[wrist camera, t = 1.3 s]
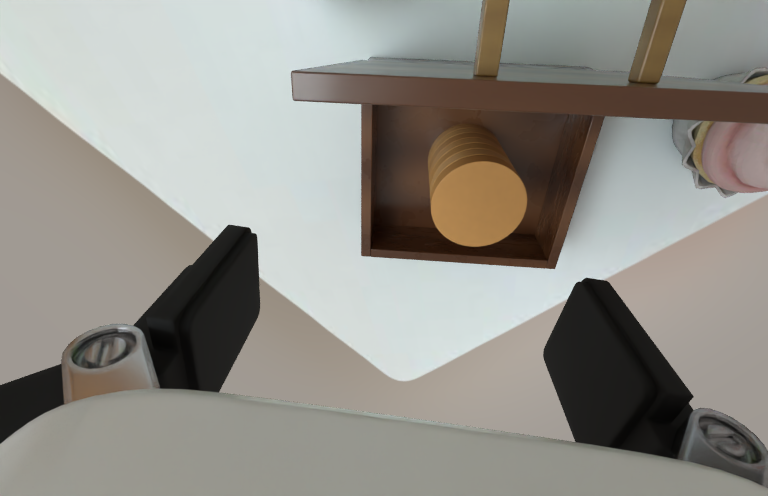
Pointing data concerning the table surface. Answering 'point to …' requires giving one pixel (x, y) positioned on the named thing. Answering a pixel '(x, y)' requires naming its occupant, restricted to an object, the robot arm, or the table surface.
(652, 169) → the table surface
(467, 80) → the lid
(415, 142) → the chest
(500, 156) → the cookie stack
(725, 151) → the cupcake
